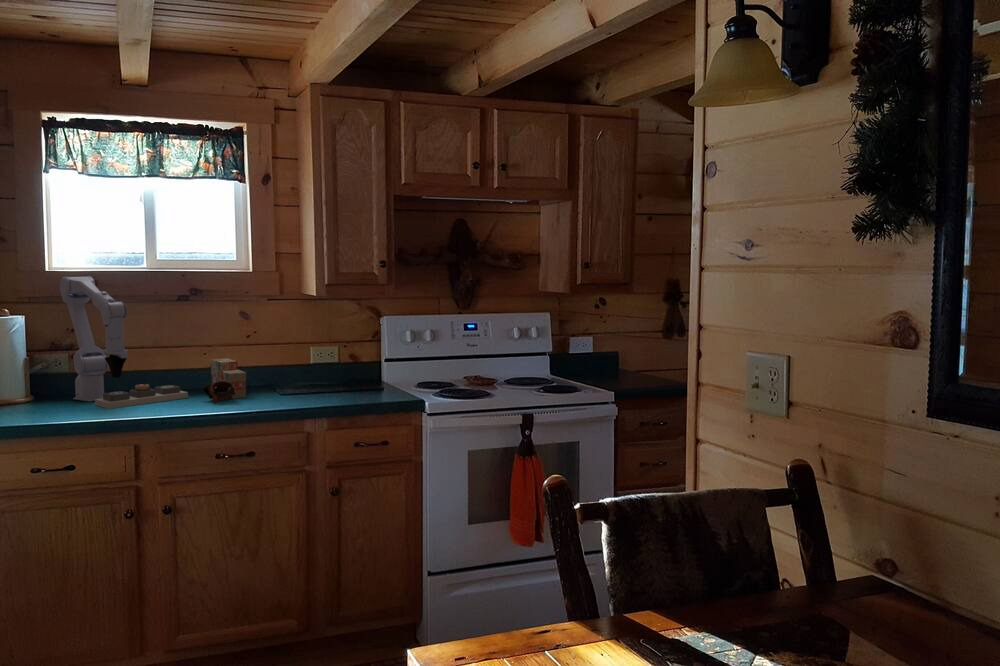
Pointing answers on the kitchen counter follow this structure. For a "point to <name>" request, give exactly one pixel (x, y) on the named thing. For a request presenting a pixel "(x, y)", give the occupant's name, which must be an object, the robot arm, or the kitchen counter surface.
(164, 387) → the one pip button
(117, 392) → the two pip button
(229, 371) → the stack of blocks
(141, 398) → the button panel
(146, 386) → the three pip button
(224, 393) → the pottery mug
